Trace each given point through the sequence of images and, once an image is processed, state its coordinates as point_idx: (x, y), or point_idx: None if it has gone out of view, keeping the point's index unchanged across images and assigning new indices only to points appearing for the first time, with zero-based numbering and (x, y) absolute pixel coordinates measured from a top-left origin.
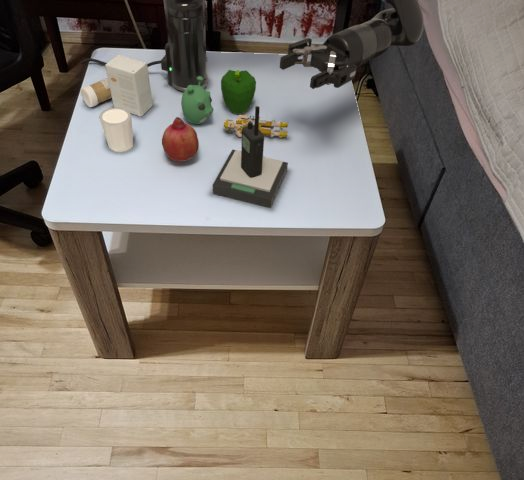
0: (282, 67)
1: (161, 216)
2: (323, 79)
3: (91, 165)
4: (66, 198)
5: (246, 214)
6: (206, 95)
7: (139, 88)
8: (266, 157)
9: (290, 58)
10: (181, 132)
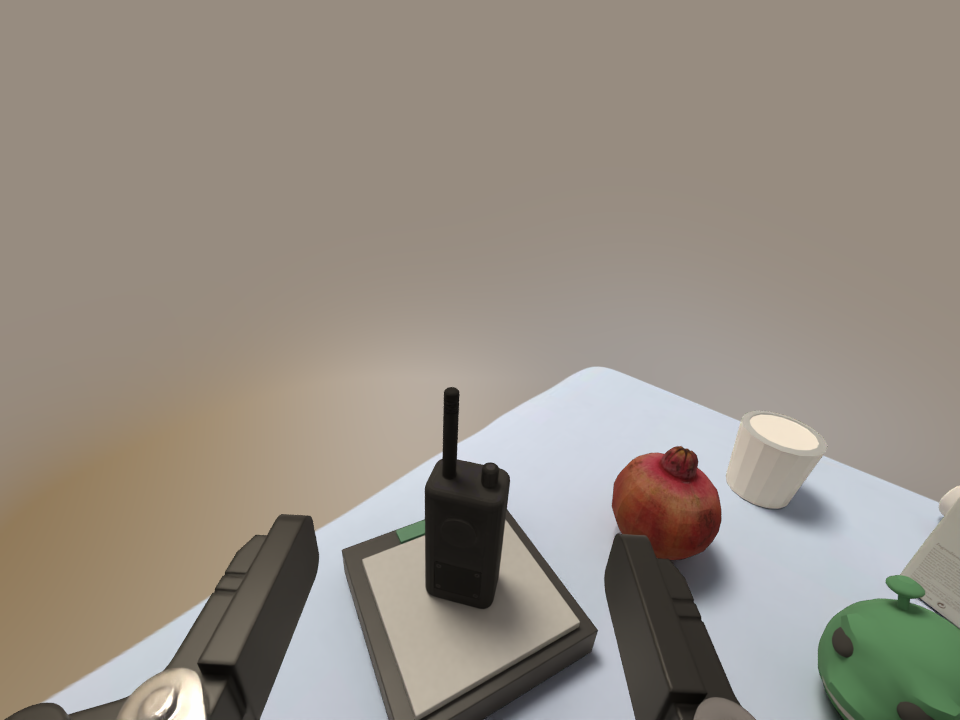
0: (606, 571)
1: (504, 428)
2: (214, 597)
3: (695, 430)
4: (623, 384)
5: (385, 518)
6: (903, 670)
7: (956, 532)
8: (478, 676)
9: (638, 623)
10: (650, 463)
